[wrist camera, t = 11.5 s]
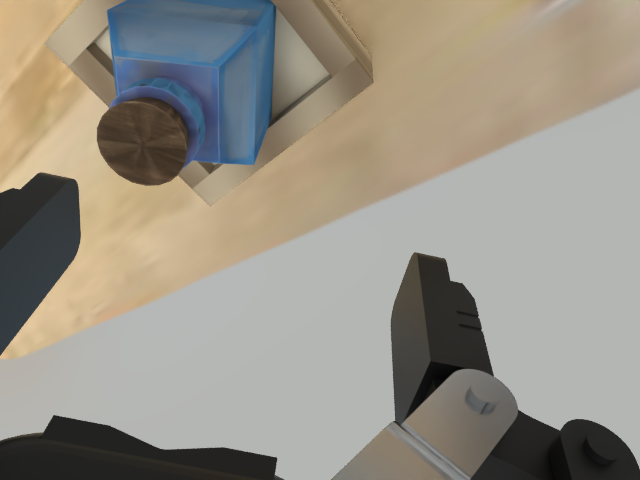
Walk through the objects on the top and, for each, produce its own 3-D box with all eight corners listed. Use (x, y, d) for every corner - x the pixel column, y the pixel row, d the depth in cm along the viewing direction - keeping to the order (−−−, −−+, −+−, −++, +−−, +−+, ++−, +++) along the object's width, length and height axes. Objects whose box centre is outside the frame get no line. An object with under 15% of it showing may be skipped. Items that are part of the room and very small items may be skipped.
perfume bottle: (161, 106, 31) (67, 212, 21) (153, -14, 28) (37, 44, 18) (271, 118, 31) (230, 229, 21) (276, -1, 28) (230, 65, 18)
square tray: (230, -133, 28) (207, -136, 24) (371, 56, 33) (373, 82, 29) (86, 22, 33) (44, 43, 28) (227, 169, 37) (210, 206, 33)
